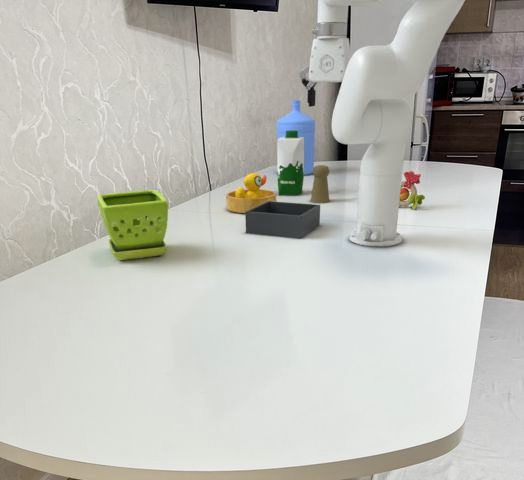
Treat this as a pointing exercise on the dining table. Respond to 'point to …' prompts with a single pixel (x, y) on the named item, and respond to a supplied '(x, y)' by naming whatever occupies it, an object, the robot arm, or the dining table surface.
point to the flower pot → (135, 223)
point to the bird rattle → (405, 193)
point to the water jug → (300, 132)
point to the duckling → (252, 186)
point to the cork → (320, 184)
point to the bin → (282, 219)
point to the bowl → (247, 201)
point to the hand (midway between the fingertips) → (328, 106)
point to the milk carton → (290, 163)
